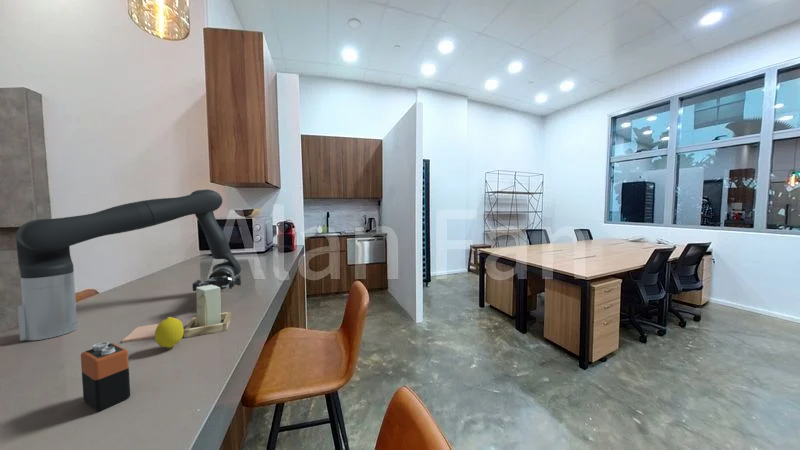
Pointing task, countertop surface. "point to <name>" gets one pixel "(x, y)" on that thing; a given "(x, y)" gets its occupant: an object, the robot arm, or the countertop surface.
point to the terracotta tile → (141, 333)
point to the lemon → (169, 332)
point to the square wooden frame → (192, 331)
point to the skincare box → (208, 305)
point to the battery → (105, 375)
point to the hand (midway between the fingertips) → (215, 287)
